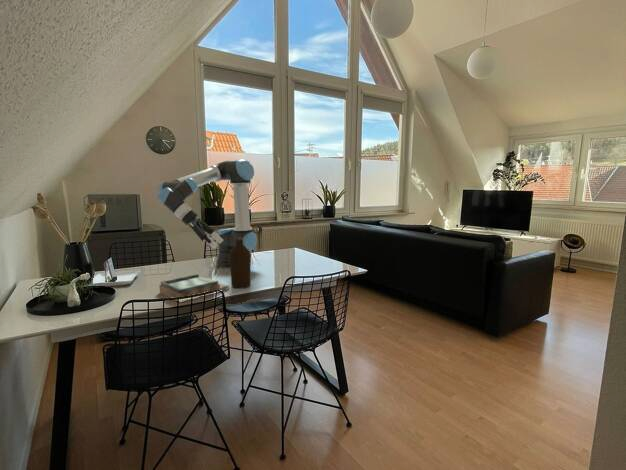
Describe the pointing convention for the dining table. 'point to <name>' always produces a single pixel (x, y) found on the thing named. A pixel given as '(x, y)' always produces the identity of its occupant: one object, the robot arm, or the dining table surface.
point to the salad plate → (122, 278)
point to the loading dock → (190, 286)
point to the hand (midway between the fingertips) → (219, 244)
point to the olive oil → (240, 265)
